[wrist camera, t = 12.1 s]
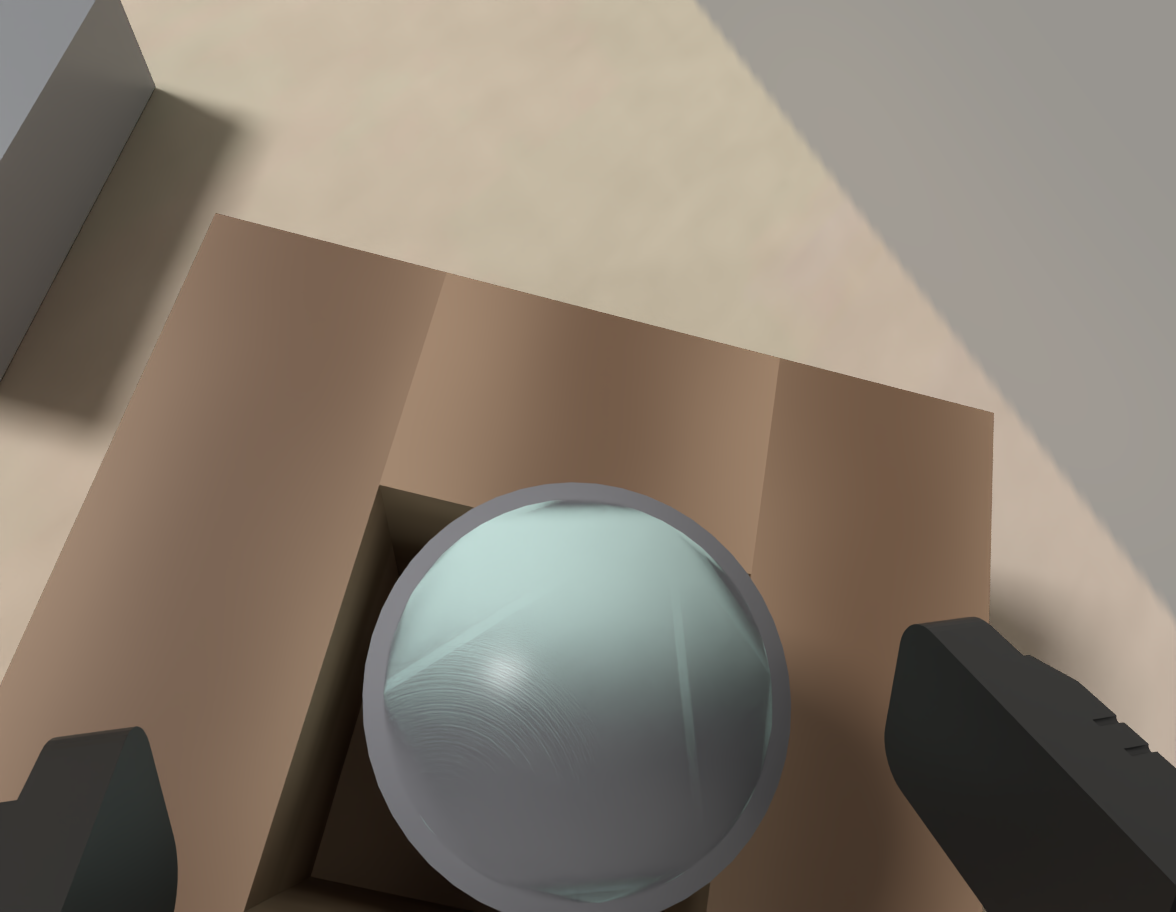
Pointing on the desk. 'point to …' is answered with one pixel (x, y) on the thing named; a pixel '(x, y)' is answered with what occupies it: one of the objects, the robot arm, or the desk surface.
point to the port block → (425, 507)
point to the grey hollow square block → (57, 137)
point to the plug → (576, 702)
